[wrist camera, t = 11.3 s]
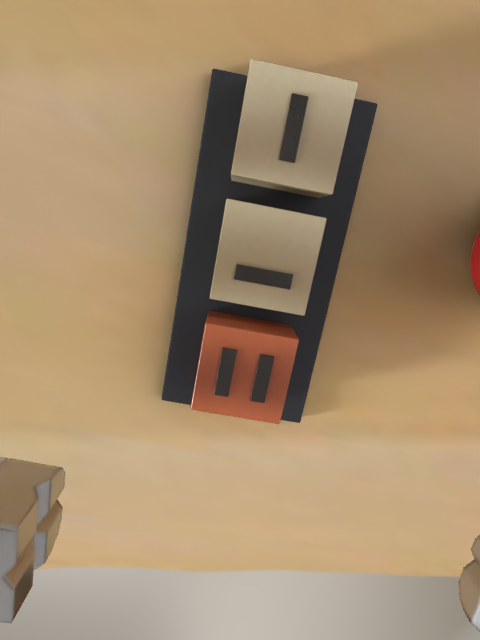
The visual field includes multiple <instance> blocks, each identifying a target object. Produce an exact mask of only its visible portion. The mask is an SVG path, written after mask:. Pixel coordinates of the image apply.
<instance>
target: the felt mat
mask: <svg viewBox="0 0 480 640" xmlns="http://www.w3.org/2000/svg"><path fill="white" fill-rule="evenodd" d="M247 77H248V76H245V75H241V74H236V73H231V72H227V71H222V70H217V69H213V70H212V75H211V82H210V88H209V95H208V101H207V108H206V114H205V121H204V127H203V134H202V140H201V147H200V153H199V160H198V166H197V173H196V179H195V186H194V192H193V199H192V205H191V212H190V218H189V225H188V231H187V238H186V244H185V251H184V257H183V264H182V270H181V277H180V283H179V290H178V296H177V303H176V309H175V316H174V322H173V329H172V335H171V342H170V348H169V355H168V361H167V368H166V374H165V381H164V387H163V394H162V400H165V401H171V402H177V403H183V404H189V405H191V403H192V397H193V391H194V385H195V380H196V374H197V368H198V362H199V357H200V351H201V345H202V339H203V334H204V328H205V323H206V319H207V316H208V312H209V311H210V310H211V311H216V312H222V313H227V314H233V315H238V316H244V317H249V318H255V319H260V320H266V321H272V322H277V323H283V324H288V325H291V326H292V328H293V330H294V332H295V333H296V335H297V337H298V339H299V343H298V347H297V351H296V356H295V360H294V364H293V369H292V373H291V377H290V382H289V386H288V390H287V394H286V399H285V403H284V407H283V412H282V416H281V420H285V421H291V422H298V423H300V421H301V417H302V412H303V408H304V404H305V400H306V396H307V392H308V388H309V384H310V379H311V375H312V371H313V367H314V363H315V359H316V355H317V351H318V347H319V342H320V338H321V334H322V330H323V326H324V322H325V318H326V314H327V310H328V305H329V301H330V297H331V293H332V289H333V285H334V281H335V277H336V273H337V268H338V264H339V260H340V256H341V252H342V248H343V244H344V240H345V236H346V231H347V227H348V223H349V219H350V215H351V211H352V207H353V203H354V198H355V194H356V190H357V186H358V182H359V178H360V174H361V170H362V166H363V161H364V157H365V153H366V149H367V145H368V141H369V137H370V133H371V129H372V124H373V120H374V116H375V112H376V108H377V104H376V103H372V102H367V101H362V100H357V99H354V103H353V108H352V112H351V116H350V121H349V125H348V129H347V134H346V138H345V143H344V147H343V151H342V156H341V160H340V164H339V169H338V173H337V177H336V182H335V186H334V190H333V194H332V195H328V196H325V197H321V198H316V197H311V196H306V195H301V194H296V193H291V192H286V191H281V190H276V189H271V188H266V187H260V186H255V185H250V184H245V183H240V182H235V181H232V180H231V170H232V164H233V158H234V152H235V147H236V141H237V135H238V129H239V123H240V118H241V112H242V106H243V100H244V94H245V89H246V83H247ZM226 199H232V200H238V201H243V202H248V203H253V204H258V205H263V206H268V207H273V208H278V209H283V210H288V211H294V212H299V213H304V214H309V215H314V216H319V217H324V218H327V220H326V225H325V229H324V233H323V238H322V242H321V246H320V251H319V255H318V259H317V264H316V268H315V272H314V277H313V281H312V285H311V290H310V294H309V298H308V303H307V307H306V311H305V315H304V316H303V315H297V314H292V313H286V312H281V311H275V310H270V309H264V308H259V307H253V306H248V305H242V304H236V303H231V302H225V301H220V300H214V299H210V291H211V286H212V280H213V274H214V268H215V262H216V257H217V251H218V245H219V239H220V233H221V228H222V222H223V216H224V210H225V204H226Z"/></svg>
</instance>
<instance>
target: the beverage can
mask: <svg viewBox="0 0 480 640" xmlns="http://www.w3.org/2000/svg"><path fill="white" fill-rule="evenodd" d="M470 268H471V275H472V279H473V283H474V285H475V287H476V289H477V291H478V293H479V294H480V230H479V232H478V234H477V236H476V239H475V241H474V244H473V247H472V252H471V259H470Z"/></svg>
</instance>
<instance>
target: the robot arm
mask: <svg viewBox="0 0 480 640" xmlns="http://www.w3.org/2000/svg"><path fill="white" fill-rule="evenodd" d="M64 485H65V471H64V469H63V468H62V467H56V466H51V465H45V464H39V463H34V462H28V461H23V460H17V459H11V458H10V459H8V458H4V457H0V622H2V623H12V621H13V619H14V618H15V616H16V614H17V612H18V611H19V609H20V607H21V605H22V603H23V602H24V600H25V598H26V596H27V594H28V593H29V591H30V589H31V587H32V583H33V571H34V570H35V569H37V568H38V567H40V566H41V565H43V564H44V563H45V562H46V560H47V558H48V556H49V554H50V552H51V551H52V548H53V546H54V543H55V540H56V537H57V535H58V532H59V527H60V523H61V518H62V506H61V504H60V503H59V501H58V500H57V498H58V497H59V495H60V494H61V492H62V490H63V489H64ZM471 551H472V554H473V556H474V559H475V560H473V561H472V562H470V563H469V564H468V565H466V566H465V567H464V568H463V571H462V574H461V577H460V580H459V595H460V600H461V603H462V607H463V610H464V611H465V614H466V615H467V617H468V619H469V621H470V623H471V624H472V625H473V626H474V627H476V629H477V630H479V631H480V535H479V536H478V537H477V538H475V541H474V543H473V545H472V548H471Z"/></svg>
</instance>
